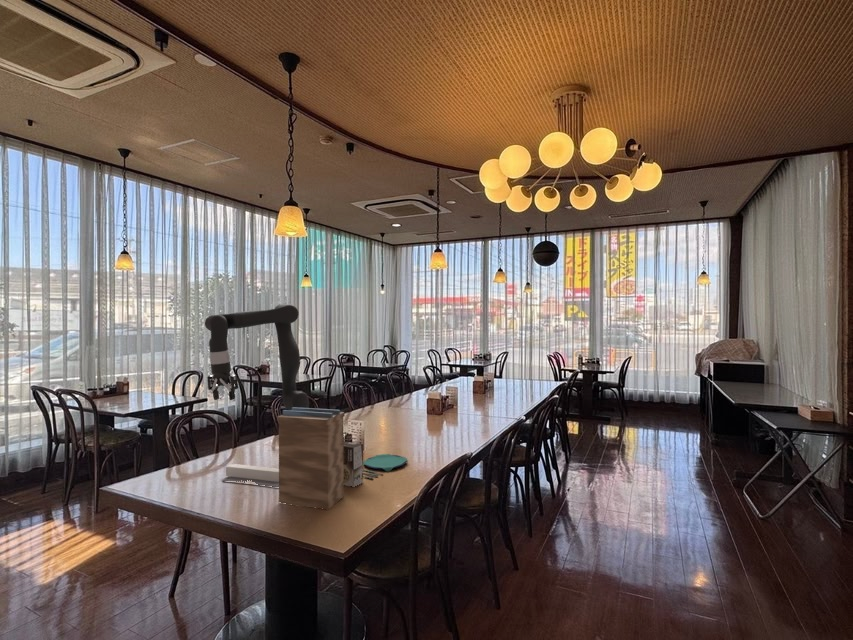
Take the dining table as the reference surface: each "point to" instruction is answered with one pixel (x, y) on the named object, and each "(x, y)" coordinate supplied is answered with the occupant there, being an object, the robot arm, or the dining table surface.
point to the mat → (259, 482)
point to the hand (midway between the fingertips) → (224, 399)
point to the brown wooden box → (311, 457)
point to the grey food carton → (352, 464)
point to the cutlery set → (383, 463)
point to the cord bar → (253, 472)
